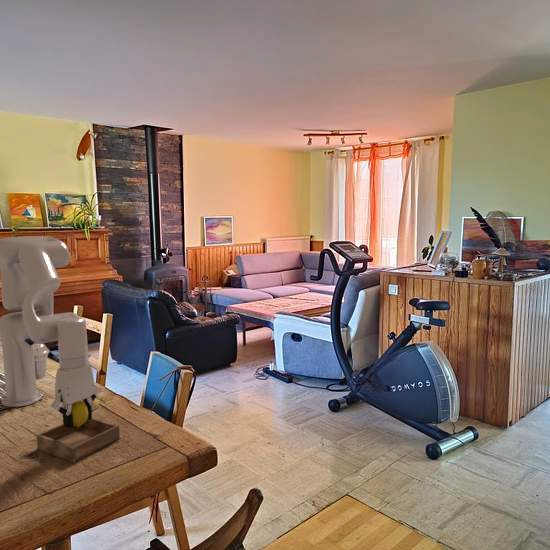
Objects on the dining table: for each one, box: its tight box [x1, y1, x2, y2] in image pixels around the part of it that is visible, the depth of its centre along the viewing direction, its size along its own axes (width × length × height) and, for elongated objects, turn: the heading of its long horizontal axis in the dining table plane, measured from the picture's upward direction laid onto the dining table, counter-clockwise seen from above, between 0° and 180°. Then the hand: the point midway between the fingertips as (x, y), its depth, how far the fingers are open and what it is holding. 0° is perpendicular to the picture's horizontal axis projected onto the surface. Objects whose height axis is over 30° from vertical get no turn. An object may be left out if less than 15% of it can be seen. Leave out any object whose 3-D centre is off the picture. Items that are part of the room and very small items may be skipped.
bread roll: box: [81, 398, 100, 411], centre depth 163 cm, size 8×9×4 cm
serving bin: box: [36, 417, 121, 464], centre depth 137 cm, size 16×16×4 cm
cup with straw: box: [30, 342, 50, 379], centre depth 193 cm, size 8×9×20 cm
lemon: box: [70, 401, 88, 427], centre depth 136 cm, size 6×6×8 cm
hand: (78, 422), depth 137 cm, fingers closed on lemon, 5 cm apart
